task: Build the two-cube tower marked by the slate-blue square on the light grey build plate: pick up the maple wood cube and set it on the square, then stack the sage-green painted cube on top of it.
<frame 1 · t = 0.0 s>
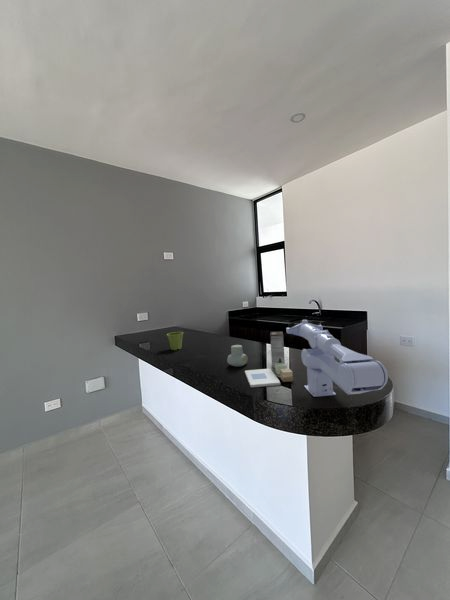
hand: (297, 324, 111), 22 cm above the counter, tool horizontal, fingers open, 7 cm apart
maple block: (286, 379, 105), on the counter
plant pot: (176, 349, 177), on the counter
coffee box: (278, 365, 126), on the counter
build plate: (261, 378, 108), on the counter
air freshener: (237, 365, 130), on the counter
sage block: (280, 372, 114), on the counter
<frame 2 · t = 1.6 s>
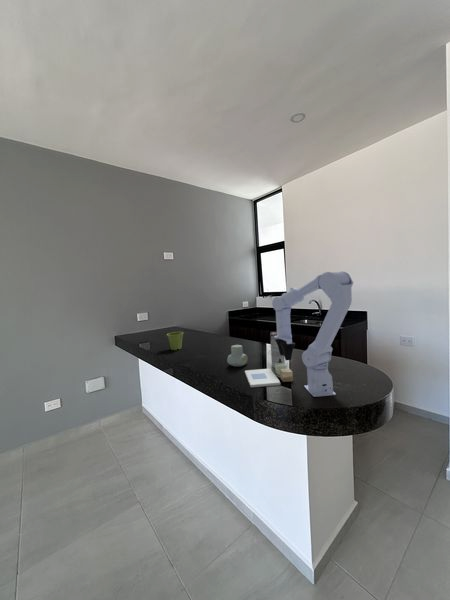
hand: (285, 357, 105), 9 cm above the counter, tool pointing down, fingers open, 7 cm apart
nothing on the counter moved.
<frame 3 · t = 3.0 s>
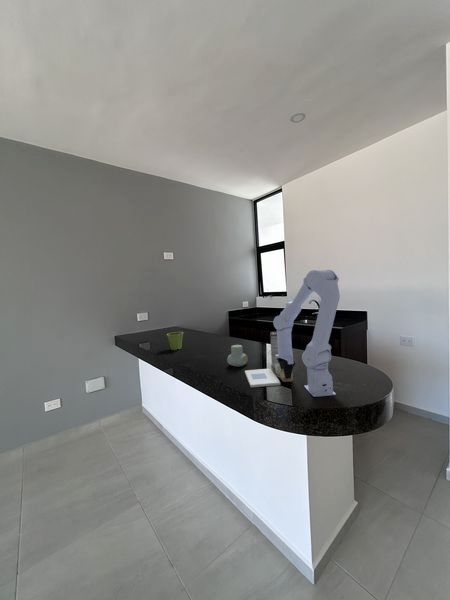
hand: (286, 376, 105), 1 cm above the counter, tool pointing down, fingers closed on maple block, 4 cm apart
maple block: (286, 379, 105), on the counter, touching gripper
everything else where it was.
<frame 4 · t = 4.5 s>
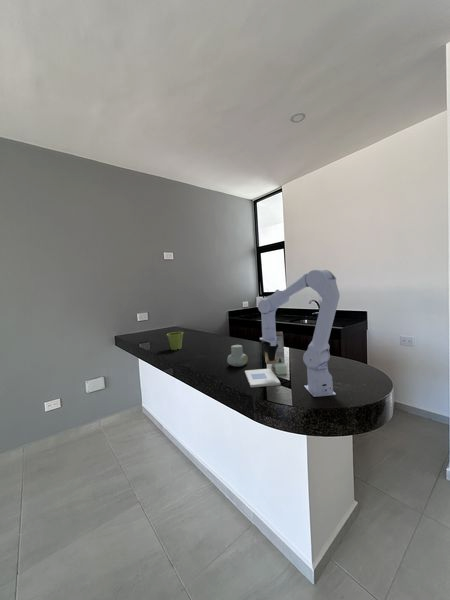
hand: (270, 359, 107), 9 cm above the counter, tool pointing down, fingers closed on maple block, 4 cm apart
maple block: (270, 362, 107), point 7 cm above the counter, touching gripper
everything else where it was.
when the fingers open (4 cm above the counter, at t = 6.1 s): maple block drops 1 cm, resting on build plate.
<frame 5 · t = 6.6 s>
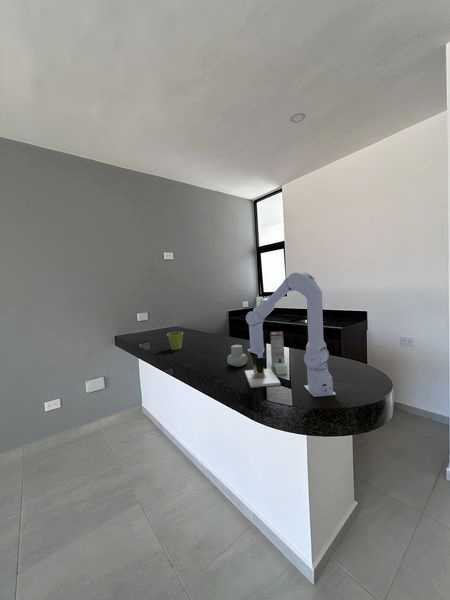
hand: (258, 370, 108), 4 cm above the counter, tool pointing down, fingers open, 7 cm apart
maple block: (259, 375, 108), point 1 cm above the counter, touching build plate
everything else where it was.
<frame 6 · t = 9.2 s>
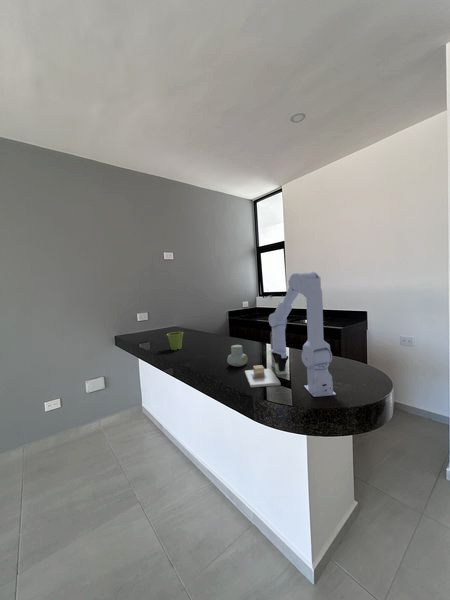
hand: (280, 369, 114), 1 cm above the counter, tool pointing down, fingers closed on sage block, 4 cm apart
sage block: (280, 372, 114), on the counter, touching gripper
everything else where it was.
when the fingers open (7 cm above the counter, at t = 12.3 s): sage block stays where it is, resting on maple block.
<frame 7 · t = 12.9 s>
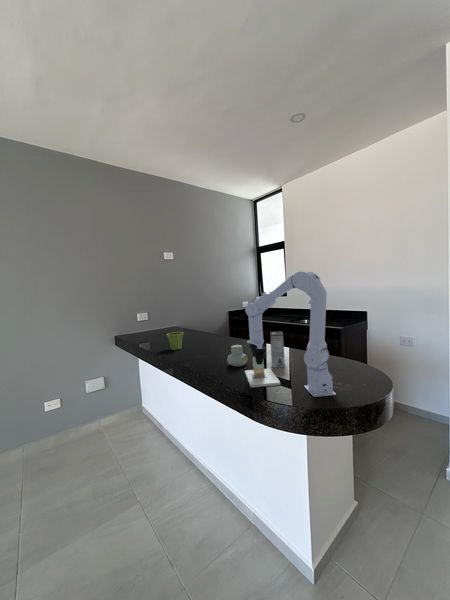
hand: (257, 361, 108), 7 cm above the counter, tool pointing down, fingers open, 7 cm apart
maple block: (259, 375, 108), point 1 cm above the counter, touching build plate, sage block
sage block: (258, 366, 108), point 5 cm above the counter, touching maple block
everything else where it was.
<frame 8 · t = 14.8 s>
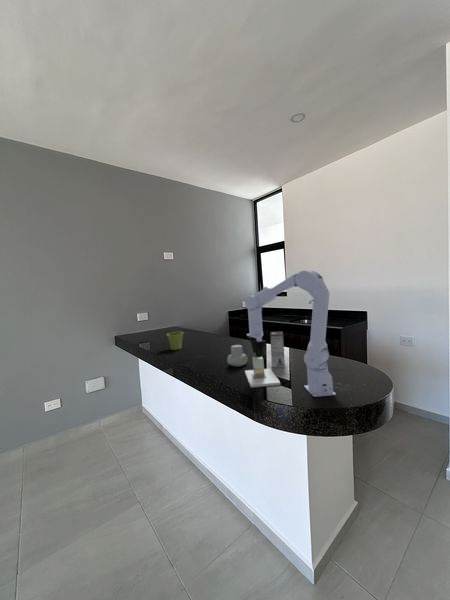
hand: (257, 354, 108), 10 cm above the counter, tool pointing down, fingers open, 7 cm apart
nothing on the counter moved.
at the end: maple block 0.1 cm from the target spot on the build plate, point 1.1 cm above the build plate's base; sage block 0.1 cm off-centre on the maple block, point 4.0 cm above the maple block's base; sage block tilted 0° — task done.
